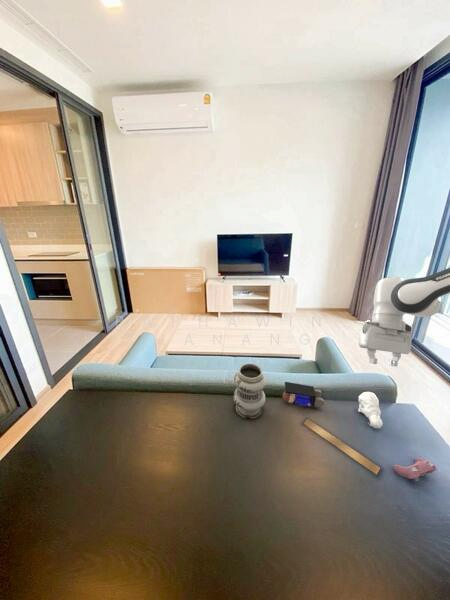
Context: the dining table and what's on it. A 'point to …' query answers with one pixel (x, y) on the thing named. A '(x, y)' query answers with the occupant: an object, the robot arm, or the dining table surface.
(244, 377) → the apothecary jar
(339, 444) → the brass ruler
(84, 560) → the dining table surface
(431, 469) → the pink animal figurine
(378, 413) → the white sculpture
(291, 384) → the dark block with discs
